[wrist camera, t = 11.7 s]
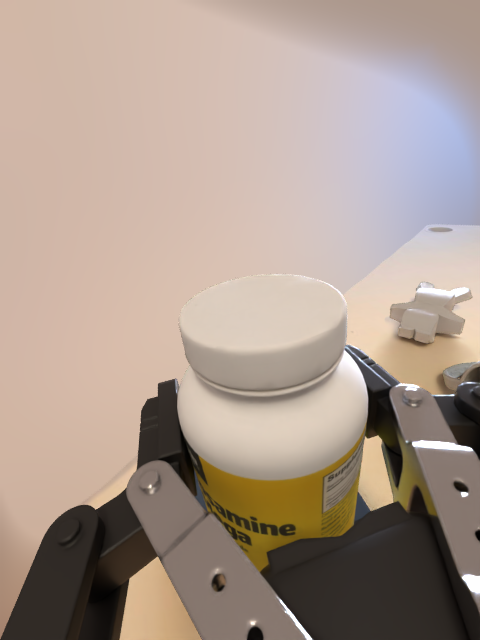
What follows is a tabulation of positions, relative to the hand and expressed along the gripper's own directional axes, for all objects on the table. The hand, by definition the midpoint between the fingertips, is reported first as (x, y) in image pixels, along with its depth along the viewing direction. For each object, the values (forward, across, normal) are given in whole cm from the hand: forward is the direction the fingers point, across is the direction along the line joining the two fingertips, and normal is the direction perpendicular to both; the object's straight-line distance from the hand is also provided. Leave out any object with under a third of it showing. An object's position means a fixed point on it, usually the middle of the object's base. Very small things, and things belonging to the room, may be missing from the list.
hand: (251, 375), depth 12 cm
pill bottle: (-2, 0, +7) cm, 7 cm away
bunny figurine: (+22, -34, +18) cm, 44 cm away
